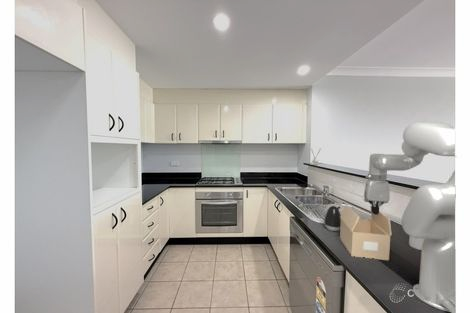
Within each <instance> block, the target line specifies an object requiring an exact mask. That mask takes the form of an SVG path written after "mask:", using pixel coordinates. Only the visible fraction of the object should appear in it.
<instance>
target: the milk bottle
mask: <svg viewBox="0 0 470 313" xmlns="http://www.w3.org/2000/svg"><path fill="white" fill-rule="evenodd" d="M424 240H425V239H421V238H414V237H412V236H410V235H409V239H408V244H409V246H410V247H411V248H412V249H416V250H419V251H422V244H423V242H424Z"/></svg>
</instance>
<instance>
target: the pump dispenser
mask: <svg viewBox="0 0 470 313" xmlns="http://www.w3.org/2000/svg"><path fill="white" fill-rule="evenodd" d="M340 209H341V206H335V205H331V206H330V207H329V208H328V209H327V211H326V213H325V217H324V222H323V223H324V226H325V228H326V229H327V230H328V231H330V232H339V231H340V226H341V218H340V216H341V211H340Z"/></svg>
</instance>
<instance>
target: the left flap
mask: <svg viewBox="0 0 470 313" xmlns="http://www.w3.org/2000/svg"><path fill="white" fill-rule="evenodd" d="M340 215H341V216H340V218H341V219H342V221H343V222H344V223H345V224H346V225H347V227H348V228H349V229H350V230H351V231H352V232H353V230H354V228H355V226H356V224H357V222H358V220H360V215H359V214H358V213H356V212H355V211H354V210H352V209H351V208H350V207H349V206H348V205H347V204H345V206H344V208H343V210H342V211H341V213H340Z"/></svg>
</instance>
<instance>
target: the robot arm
mask: <svg viewBox="0 0 470 313" xmlns="http://www.w3.org/2000/svg"><path fill="white" fill-rule="evenodd" d="M402 139H403V141H402V143H401V150H402V152H403V154H397V153H396V154H391V153H390V154H385V153H371V154H370V156H369V163H368V165H369V166H368V174H367V175H365V178H366V179H367V180H366V182H365V186H364V190H363V191H364V192H363V193H364V194H363V197H364V199H363V201H364V202H365V203H369V204H370V206H372V208H371V207H370V212H371V211H372V213H373V214H377V215H378V212H379V211H380V208H381V206H382V205H383V204H388V203H389V201H390V184H389V181H387V178H388V174H387V173H388V172H389V171H401V172H402V171H409V170H410V169H413V168H415V167H417V166H419V165H420V164H422V162H423V161H424V157H425V156H426V155H428V154H432V155H435V156H440V157H456V156H455V127H454V126H452V125H451V124H449V123H446V122H442V121H441V122H440V121H439V122H438V121H416V122H413V123H411V124H408V126H407V127H405V129H404V130H403V133H402ZM401 226H402V229H403V231H404V232H405V233H406V234H407V235H408V236H409V237H410V236H412V237H414V238H421V239H425V240H424V242H423V244H422V250H421V251H420V252H421V255H420V266H419V281H418V283H417V284H414V285H413V287H412V289H413V290H412V291H413V294H414V295H415V296H416V297H417V298H418V299H419V300H421V301H422V302H424V303H425V304H427V305H429V306H431V307H434V308H435V309H438V310H440V311H445V312H448V313H455V170H453V172H452V174H451V175H450V177H449V178H448V180H447V181H446V182H444V183H441V184H425V185H422V186H420V187H418V188H417V189H416V190H415V191H414V193H412V196H411V198H410V199H409V202H408V203H407V206H406V207H405V210H404V212H403V214H402V217H401Z"/></svg>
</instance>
